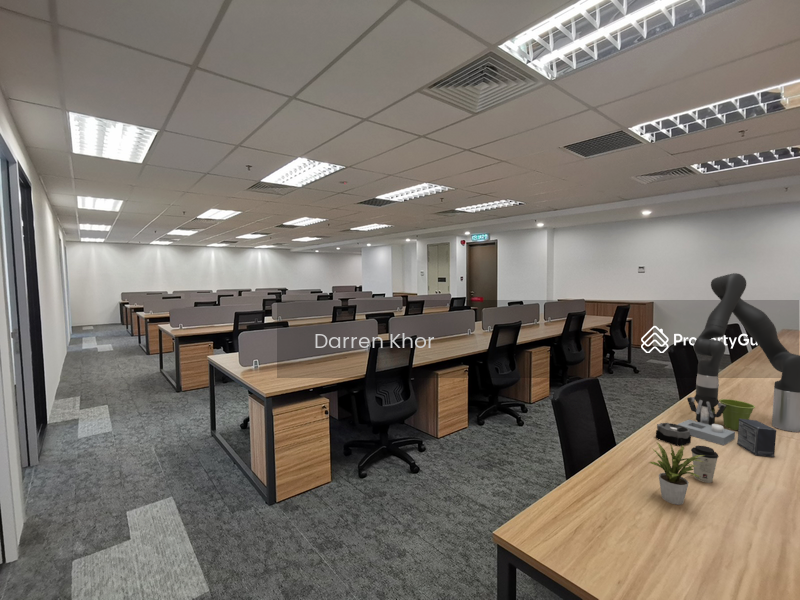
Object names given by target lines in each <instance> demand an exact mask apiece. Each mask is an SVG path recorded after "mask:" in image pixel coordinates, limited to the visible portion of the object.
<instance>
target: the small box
mask: <svg viewBox="0 0 800 600" xmlns="http://www.w3.org/2000/svg"><path fill="white" fill-rule="evenodd" d="M737 431H738V432H737V442H736V444H737V445H738V446H739V447H741V448H743V449H744V450H746V451H748V452H749V453H751V454H753V455H754V456H757V457H758V456H760V457H769V458H775V451H776V440H777V438H776V437H777V436H776V435H777V429H776V428H774V427H773V428H772V427H771V426H768V425H767V424H765V423H762V422H761V421H758V420H756V419H749V420H748V419H739V428H738V430H737Z"/></svg>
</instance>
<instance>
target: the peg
mask: <svg viewBox="0 0 800 600" xmlns="http://www.w3.org/2000/svg"><path fill="white" fill-rule="evenodd" d="M709 417H710V413H709V411H708V407H705V406H701V410H700V423H704V424H708V425H709Z"/></svg>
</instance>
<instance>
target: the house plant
mask: <svg viewBox="0 0 800 600" xmlns="http://www.w3.org/2000/svg"><path fill="white" fill-rule="evenodd" d="M656 444H657V445H658V448H659V450H660V453H661V454H660V453H659V452H658V451H657V450H655V449H654V448H652V450H653V451H654V452H655V454H657V455H656V456H658V457H659V459H658V460H657V461H649V462H648V464H651V465H654V466H656V467H659V468H661V469H662V470H663V471H664V472H660V473H659V474H658V479H659V486H660V487H659V488H660V494H661V498H662V499H663V500H664V501H665V502H666V503H670V504H673V505H679V506H681V505H683V504H684V502H685V498H686V496H687V495H686V494H687V492H688V487H689V481H688V480H687V478H689V477H690V476H694V475H695V476H697V477H698V478H699V475H696V474H695V473H694V472H691V471H694V468H693V467H694V466H695V465H693V461H700V460H695V459H701V458H697V457H699V456H705V455H697V456H693V457H692V456H691V457H689V458H683V457H684V450H685V446H684V445H683V446H680V448H679V450H678V451H677V452H676V454H675V451H674V448H673V444H670V443H669V444H670V451H671V452H669V454H670V455H671V464H670V460H669V457H668V454H667V452H666V449H665V448H664V447H663V446H662V445H661V444H660V443H659V442H658V441H656ZM682 461H683V462H682ZM681 462H682V463H681ZM700 462H703V461H700ZM690 463H692V464H690ZM687 474H689V475H690V476H689V475H688V476H687V478H686V477H685V478H684V477H683V475H687ZM700 477H701V476H700Z"/></svg>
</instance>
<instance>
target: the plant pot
mask: <svg viewBox="0 0 800 600" xmlns="http://www.w3.org/2000/svg"><path fill="white" fill-rule="evenodd" d="M718 401H719V403H721V404H723V405H726V408H725V410H724V411H723V413H722V420H723V427H725V429H728V430H731V431H738V428H739V419H748V420H750V418H751V415H752V413H753V411H754V409H756V406H755V405H754V404H752V403H749V402H745V401H741V400H736V399H731V398H730V399H728V398H721V399H718Z"/></svg>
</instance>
